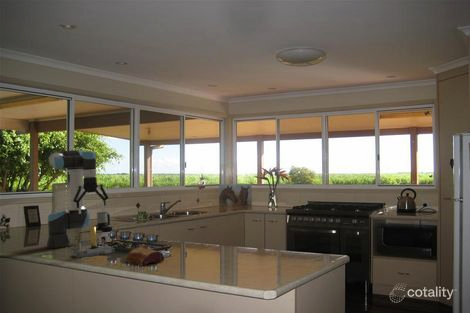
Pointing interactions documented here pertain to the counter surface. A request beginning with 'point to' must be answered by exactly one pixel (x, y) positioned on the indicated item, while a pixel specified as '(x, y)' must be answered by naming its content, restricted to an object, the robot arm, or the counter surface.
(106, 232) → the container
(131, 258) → the cured meat
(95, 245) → the brass pin
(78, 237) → the counter surface
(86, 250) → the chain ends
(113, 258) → the counter surface
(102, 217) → the milk frother
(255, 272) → the counter surface
